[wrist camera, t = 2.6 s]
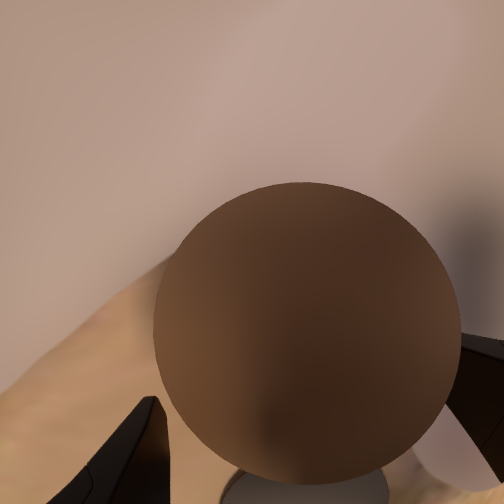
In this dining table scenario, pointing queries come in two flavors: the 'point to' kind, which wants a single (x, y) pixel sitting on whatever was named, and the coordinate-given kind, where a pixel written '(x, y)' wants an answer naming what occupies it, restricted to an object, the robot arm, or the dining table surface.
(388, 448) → the brown cylinder
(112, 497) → the robot arm
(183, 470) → the dining table surface
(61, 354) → the dining table surface
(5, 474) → the dining table surface
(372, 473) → the coaster
